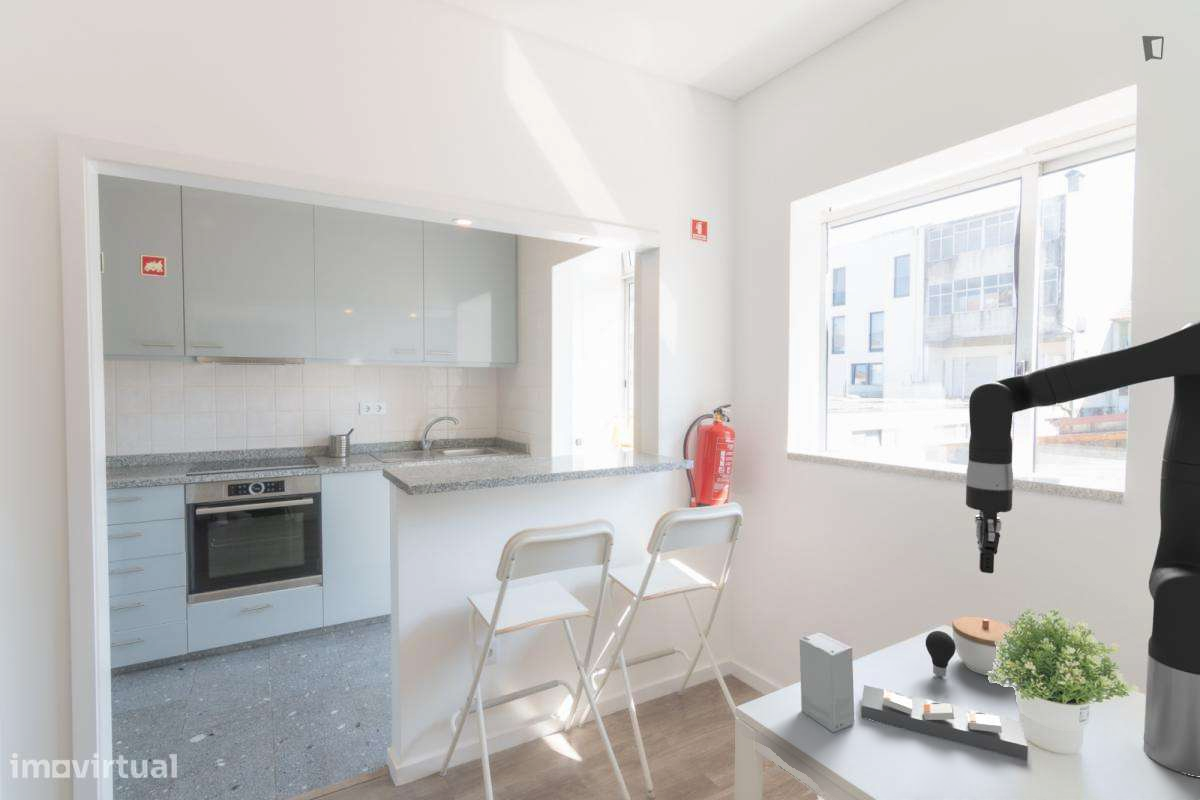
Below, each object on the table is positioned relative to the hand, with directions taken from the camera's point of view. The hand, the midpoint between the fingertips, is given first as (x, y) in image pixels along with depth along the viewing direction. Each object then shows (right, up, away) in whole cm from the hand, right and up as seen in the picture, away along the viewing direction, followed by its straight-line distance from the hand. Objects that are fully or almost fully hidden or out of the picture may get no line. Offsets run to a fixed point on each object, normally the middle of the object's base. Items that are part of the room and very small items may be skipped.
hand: (986, 571), depth 114 cm
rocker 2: (-7, -24, -11) cm, 28 cm away
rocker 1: (-20, -24, -4) cm, 31 cm away
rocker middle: (-14, -24, -7) cm, 29 cm away
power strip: (-13, -27, -5) cm, 31 cm away
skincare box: (-33, -28, -3) cm, 43 cm away
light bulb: (-2, -27, +12) cm, 29 cm away
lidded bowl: (+10, -26, +16) cm, 32 cm away
